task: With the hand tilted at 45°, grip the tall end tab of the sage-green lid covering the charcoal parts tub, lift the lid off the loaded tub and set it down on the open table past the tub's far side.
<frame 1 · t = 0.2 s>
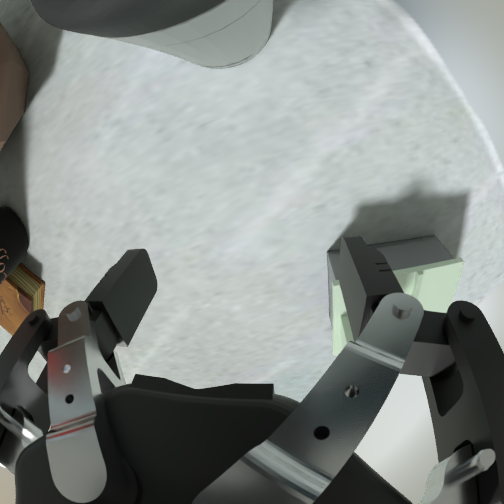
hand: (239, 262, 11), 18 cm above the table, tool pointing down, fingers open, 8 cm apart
lid: (396, 309, 28), point 6 cm above the table, touching tub
tub: (381, 277, 33), on the table
diary: (14, 288, 41), on the table
brown faceted pot: (3, 94, 20), on the table
coffee jar: (12, 230, 33), on the table
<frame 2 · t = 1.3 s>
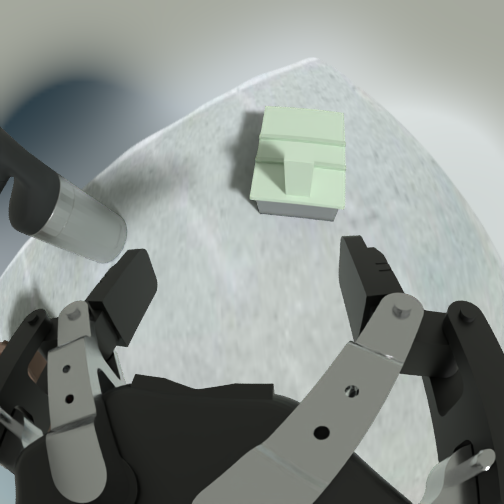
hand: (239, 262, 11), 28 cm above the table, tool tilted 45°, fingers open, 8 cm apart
lid: (301, 152, 36), point 6 cm above the table, touching tub
tub: (300, 173, 42), on the table
brown faceted pot: (62, 392, 38), on the table
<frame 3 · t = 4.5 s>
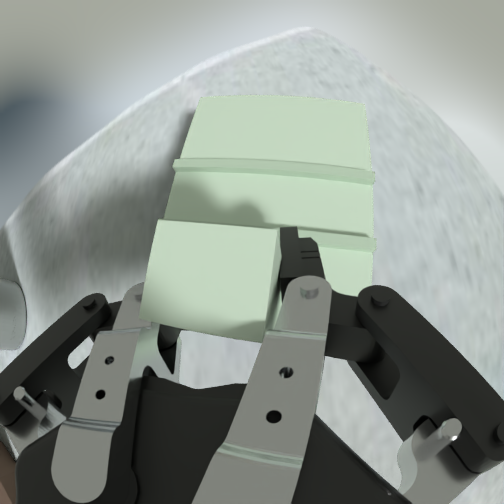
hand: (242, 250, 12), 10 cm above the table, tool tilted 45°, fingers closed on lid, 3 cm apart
lid: (269, 199, 16), point 6 cm above the table, touching gripper, tub
brown faceted pot: (9, 468, 18), on the table
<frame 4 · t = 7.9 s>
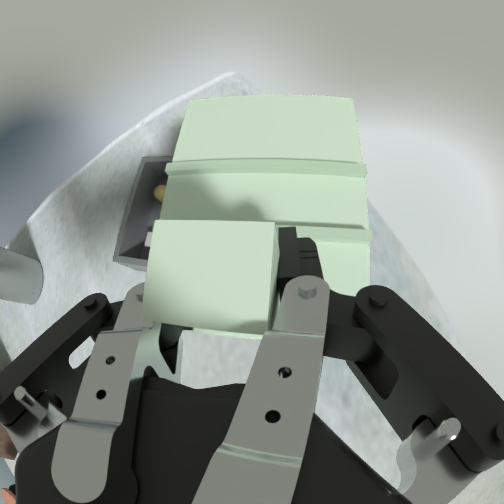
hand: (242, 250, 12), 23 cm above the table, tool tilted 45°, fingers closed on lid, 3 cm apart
lid: (262, 197, 16), point 19 cm above the table, touching gripper
tub: (179, 223, 38), on the table
brown faceted pot: (13, 407, 35), on the table
coffee jar: (75, 486, 29), on the table
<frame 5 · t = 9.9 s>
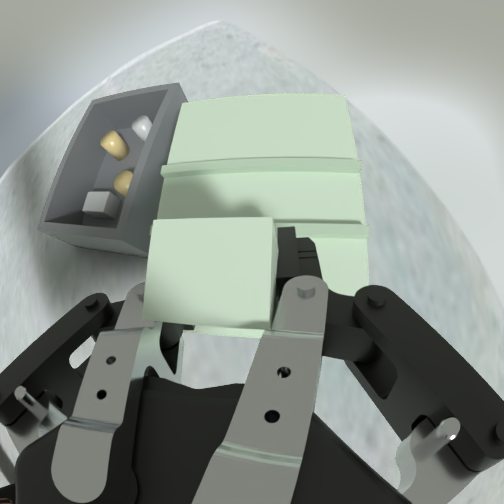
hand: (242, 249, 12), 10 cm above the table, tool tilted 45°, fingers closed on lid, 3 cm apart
lid: (258, 196, 16), point 6 cm above the table, touching gripper
tub: (132, 181, 26), on the table
when the fingers open (5 cm above the table, at t = 11.3 s): lid drops 2 cm, on the table.
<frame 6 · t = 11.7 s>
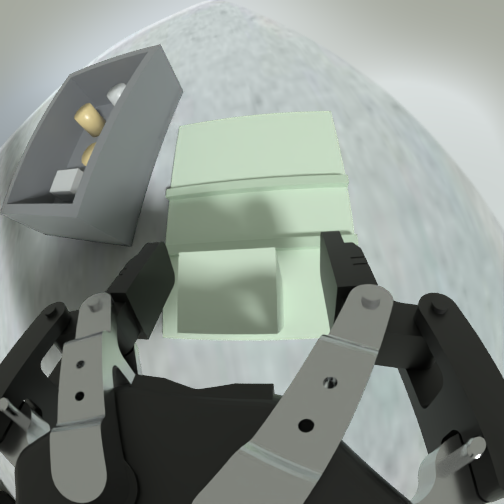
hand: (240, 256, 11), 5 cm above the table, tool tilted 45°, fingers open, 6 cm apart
lid: (257, 213, 18), on the table
tub: (107, 159, 21), on the table
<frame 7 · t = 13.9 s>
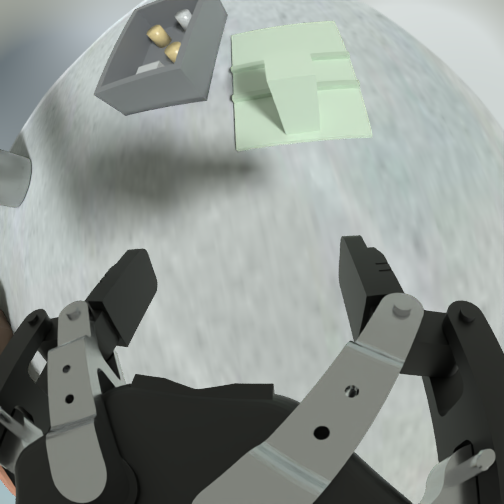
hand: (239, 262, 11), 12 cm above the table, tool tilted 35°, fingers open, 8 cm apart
lid: (293, 76, 23), on the table
tub: (176, 59, 26), on the table
brown faceted pot: (5, 342, 36), on the table
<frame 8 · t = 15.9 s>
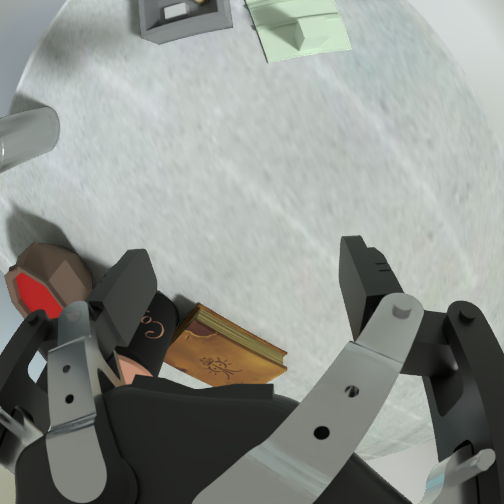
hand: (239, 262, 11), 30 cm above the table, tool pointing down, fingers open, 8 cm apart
lid: (293, 9, 26), on the table
diary: (222, 347, 61), on the table
brown faceted pot: (70, 271, 53), on the table
coffee jar: (157, 308, 55), on the table
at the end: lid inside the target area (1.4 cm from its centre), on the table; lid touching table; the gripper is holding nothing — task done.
